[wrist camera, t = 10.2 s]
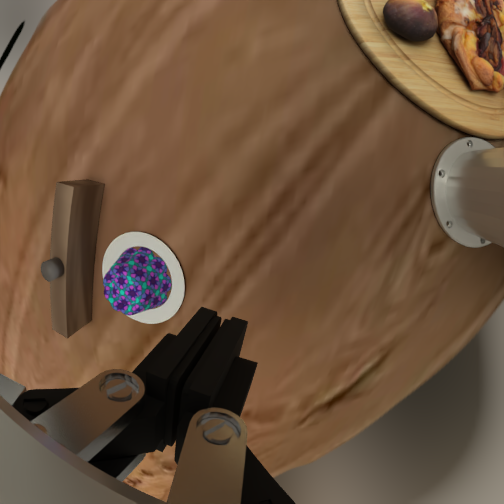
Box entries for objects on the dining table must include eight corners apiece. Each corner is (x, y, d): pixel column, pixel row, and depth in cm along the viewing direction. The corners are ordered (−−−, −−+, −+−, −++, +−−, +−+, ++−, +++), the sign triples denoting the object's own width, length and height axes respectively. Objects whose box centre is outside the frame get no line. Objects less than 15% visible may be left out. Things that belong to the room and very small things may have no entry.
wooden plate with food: (562, 123, 21) (596, 119, 13) (407, 168, 28) (441, 163, 20) (465, -49, 16) (482, -72, 8) (291, -46, 23) (287, -85, 15)
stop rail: (104, 184, 33) (61, 188, 26) (91, 320, 39) (58, 345, 31) (87, 179, 34) (44, 183, 26) (76, 312, 39) (43, 335, 31)
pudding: (150, 336, 38) (132, 356, 33) (92, 272, 37) (68, 285, 32) (206, 283, 35) (191, 300, 30) (138, 210, 34) (113, 216, 29)
